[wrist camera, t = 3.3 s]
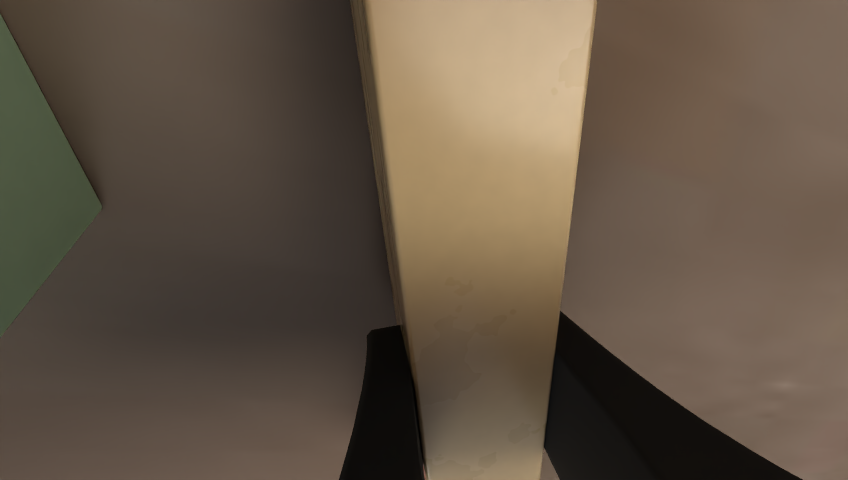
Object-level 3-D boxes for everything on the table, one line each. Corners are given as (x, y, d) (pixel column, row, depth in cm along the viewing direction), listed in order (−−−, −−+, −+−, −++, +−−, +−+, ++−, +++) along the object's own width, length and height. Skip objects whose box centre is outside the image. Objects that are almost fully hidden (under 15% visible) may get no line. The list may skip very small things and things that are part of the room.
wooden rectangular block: (525, 513, 17) (562, 616, 15) (392, 546, 17) (406, 659, 14) (579, -59, 7) (726, -55, 5) (254, -27, 7) (214, -3, 4)
